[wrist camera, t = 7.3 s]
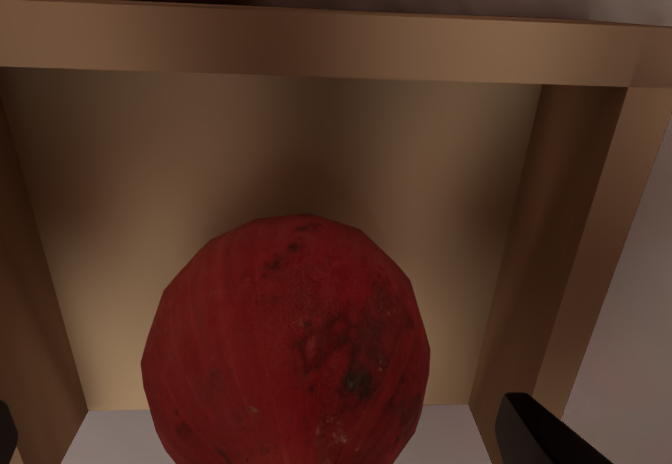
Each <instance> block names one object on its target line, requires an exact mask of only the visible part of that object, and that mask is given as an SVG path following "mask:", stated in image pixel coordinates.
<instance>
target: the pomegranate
mask: <svg viewBox="0 0 672 464" xmlns="http://www.w3.org/2000/svg"><path fill="white" fill-rule="evenodd" d="M430 352H431V349H430V345H429V342H428V338H427V334H426V331H425V327H424V324H423V320H422V317H421V314H420V310H419V307H418V304H417V300H416V297H415V294H414V290H413V287H412V284H411V281H410V279H409V278H408V277H407V275H406V274H405V273H404V272H403V271H402V270H401V268H400V267H399V266H398V265H397V264H396V263H395V262H394V261H393V260H392V259H391V258H390V257H389V256H388V255H387V254H386V253H385V252H384V251H383V250H382V249H381V248H380V247H379V246H378V245H377V244H375V243H374V242H373V241H372V240H371V239H370V238H369V237H368V236H367V235H366V234H365V233H364V232H363V231H362V230H361V229H358V228H355V227H352V226H349V225H346V224H343V223H340V222H336V221H333V220H330V219H327V218H324V217H321V216H318V215H315V214H311V213H301V214H293V215H284V216H275V217H267V218H258V219H254V220H252V221H250V222H248V223H246V224H243V225H241V226H239V227H237V228H235V229H233V230H230V231H228V232H226V233H224V234H222V235H220V236H217V237H215V238H213V239H211V240H209V241H208V242H207V243H206V244H205V245H204V246H203V247H202V248H201V249H200V250H199V251H198V252H197V253H196V254H195V255H194V256H193V258H192V259H191V260H190V261H189V262H188V263H187V264H186V266H185V267H184V268H183V269H182V270H181V271H180V272H179V273H178V274H177V275H176V276H175V278H174V279H173V280H172V281H171V282H170V283H169V285H168V286H167V287H166V288H165V289H164V291H163V293H162V296H161V299H160V302H159V305H158V308H157V311H156V314H155V317H154V320H153V322H152V325H151V328H150V331H149V334H148V337H147V341H146V344H145V348H144V352H143V355H142V359H141V363H140V364H141V372H142V380H143V388H144V391H145V394H146V398H147V401H148V405H149V408H150V412H151V415H152V419H153V422H154V426H155V429H156V432H157V434H158V436H159V438H160V440H161V442H162V444H163V447H164V449H165V450H166V452H167V453H168V454H169V456H170V457H171V458H172V459H173V461H174V462H175V463H176V464H393V463H394V461H395V460H396V458H397V457H398V456H399V454H400V453H401V451H402V450H403V448H404V447H405V446H406V444H407V443H408V441H409V440H410V439H411V437H412V436H413V434H414V433H415V430H416V427H417V424H418V421H419V418H420V415H421V411H422V406H423V402H424V397H425V392H426V387H427V382H428V377H429V370H430Z"/></svg>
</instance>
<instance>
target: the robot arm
mask: <svg viewBox="0 0 672 464" xmlns="http://www.w3.org/2000/svg"><path fill="white" fill-rule="evenodd" d="M494 430H495V436H496V440H497V444H498V447H499V451H500V455H501V458H502V462H503V464H613V463H612V462H611V461H609V460H608V459H607V458H606V457H605V456H603V455H602V454H601V453H600V452H598V451H597V450H596V449H595V448H594V447H592V446H591V445H590V444H589V443H587V442H586V441H585V440H584V439H583V438H581V437H580V436H579V435H578V434H577V433H575V432H574V431H573V430H572V429H570V428H569V427H568V426H567V425H566V424H564V423H563V422H562V421H561V420H559V419H558V418H557V417H556V416H555V415H553V414H552V413H551V412H550V411H548V410H547V409H546V408H545V407H544V406H542V405H541V404H540V403H539V402H538V401H536V400H535V399H534V398H533V397H531V396H530V395H529V394H527V393H525V392H506V393H504V394H503V395H502V398H501V401H500V405H499V408H498V412H497V415H496V419H495V424H494ZM18 438H19V434H18V429H17V426H16V424H15V421H14V419H13V416H12V413H11V411H10V408H9V405H8V404H7V403H6V402H5V401H4V400H0V464H10V461H11V459H12V457H13V454H14V452H15V449H16V447H17V443H18Z"/></svg>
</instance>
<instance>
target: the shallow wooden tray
mask: <svg viewBox="0 0 672 464" xmlns="http://www.w3.org/2000/svg"><path fill="white" fill-rule="evenodd" d="M671 114H672V27H667V26H654V25H641V24H629V23H616V22H603V21H590V20H567V19H543V18H520V17H497V16H473V15H450V14H427V13H404V12H380V11H357V10H334V9H311V8H287V7H264V6H241V5H218V4H194V3H171V2H148V1H124V0H0V400H4V401H5V402H6V403H7V404H8V405H9V408H10V411H11V413H12V416H13V419H14V421H15V424H16V426H17V429H18V434H19V438H18V443H17V447H16V449H15V452H14V454H13V457H12V459H11V461H10V464H61V462H62V460H63V458H64V456H65V454H66V452H67V450H68V448H69V447H70V445H71V443H72V441H73V439H74V437H75V435H76V433H77V431H78V430H79V428H80V426H81V424H82V422H83V420H84V418H85V416H86V414H87V412H88V411H97V410H150V408H149V405H148V401H147V398H146V394H145V391H144V388H143V380H142V372H141V364H140V363H141V359H142V355H143V352H144V348H145V344H146V341H147V337H148V334H149V331H150V328H151V325H152V322H153V320H154V317H155V314H156V311H157V308H158V305H159V302H160V299H161V296H162V293H163V291H164V289H165V288H166V287H167V286H168V285H169V283H170V282H171V281H172V280H173V279H174V278H175V276H176V275H177V274H178V273H179V272H180V271H181V270H182V269H183V268H184V267H185V266H186V264H187V263H188V262H189V261H190V260H191V259H192V258H193V256H194V255H195V254H196V253H197V252H198V251H199V250H200V249H201V248H202V247H203V246H204V245H205V244H206V243H207V242H208V241H209V240H211V239H213V238H215V237H217V236H220V235H222V234H224V233H226V232H228V231H230V230H233V229H235V228H237V227H239V226H241V225H243V224H246V223H248V222H250V221H252V220H254V219H258V218H267V217H275V216H284V215H293V214H301V213H311V214H315V215H318V216H321V217H324V218H327V219H330V220H333V221H336V222H340V223H343V224H346V225H349V226H352V227H355V228H358V229H361V230H362V231H363V232H364V233H365V234H366V235H367V236H368V237H369V238H370V239H371V240H372V241H373V242H374V243H375V244H377V245H378V246H379V247H380V248H381V249H382V250H383V251H384V252H385V253H386V254H387V255H388V256H389V257H390V258H391V259H392V260H393V261H394V262H395V263H396V264H397V265H398V266H399V267H400V268H401V270H402V271H403V272H404V273H405V274H406V275H407V277H408V278H409V279H410V281H411V284H412V287H413V290H414V294H415V297H416V300H417V304H418V307H419V310H420V314H421V317H422V320H423V324H424V327H425V331H426V334H427V338H428V342H429V345H430V349H431V352H430V370H429V377H428V382H427V387H426V392H425V397H424V402H423V405H450V404H468V405H469V407H470V410H471V412H472V415H473V417H474V420H475V422H476V425H477V427H478V430H479V432H480V435H481V437H482V440H483V442H484V445H485V447H486V450H487V452H488V455H489V457H490V460H491V462H492V464H503V462H502V458H501V455H500V451H499V447H498V444H497V440H496V436H495V430H494V424H495V419H496V415H497V412H498V408H499V405H500V401H501V398H502V395H503V394H504V393H506V392H525V393H527V394H529V395H530V396H531V397H533V398H534V399H535V400H536V401H538V402H539V403H540V404H541V405H542V406H544V407H545V408H546V409H547V410H548V411H550V412H551V413H552V414H553V415H555V416H556V417H557V418H558V419H559V420H561V417H562V415H563V412H564V409H565V406H566V404H567V401H568V398H569V395H570V393H571V390H572V387H573V384H574V382H575V379H576V376H577V373H578V370H579V368H580V365H581V362H582V359H583V357H584V354H585V351H586V348H587V346H588V343H589V340H590V337H591V335H592V332H593V329H594V326H595V324H596V321H597V318H598V315H599V313H600V310H601V307H602V304H603V301H604V299H605V296H606V293H607V290H608V288H609V285H610V282H611V279H612V277H613V274H614V271H615V268H616V266H617V263H618V260H619V257H620V255H621V252H622V249H623V246H624V244H625V241H626V238H627V235H628V232H629V230H630V227H631V224H632V221H633V219H634V216H635V213H636V210H637V208H638V205H639V202H640V199H641V197H642V194H643V191H644V188H645V186H646V183H647V180H648V177H649V175H650V172H651V169H652V166H653V163H654V161H655V158H656V155H657V152H658V150H659V147H660V144H661V141H662V139H663V136H664V133H665V130H666V128H667V125H668V122H669V119H670V117H671Z"/></svg>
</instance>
